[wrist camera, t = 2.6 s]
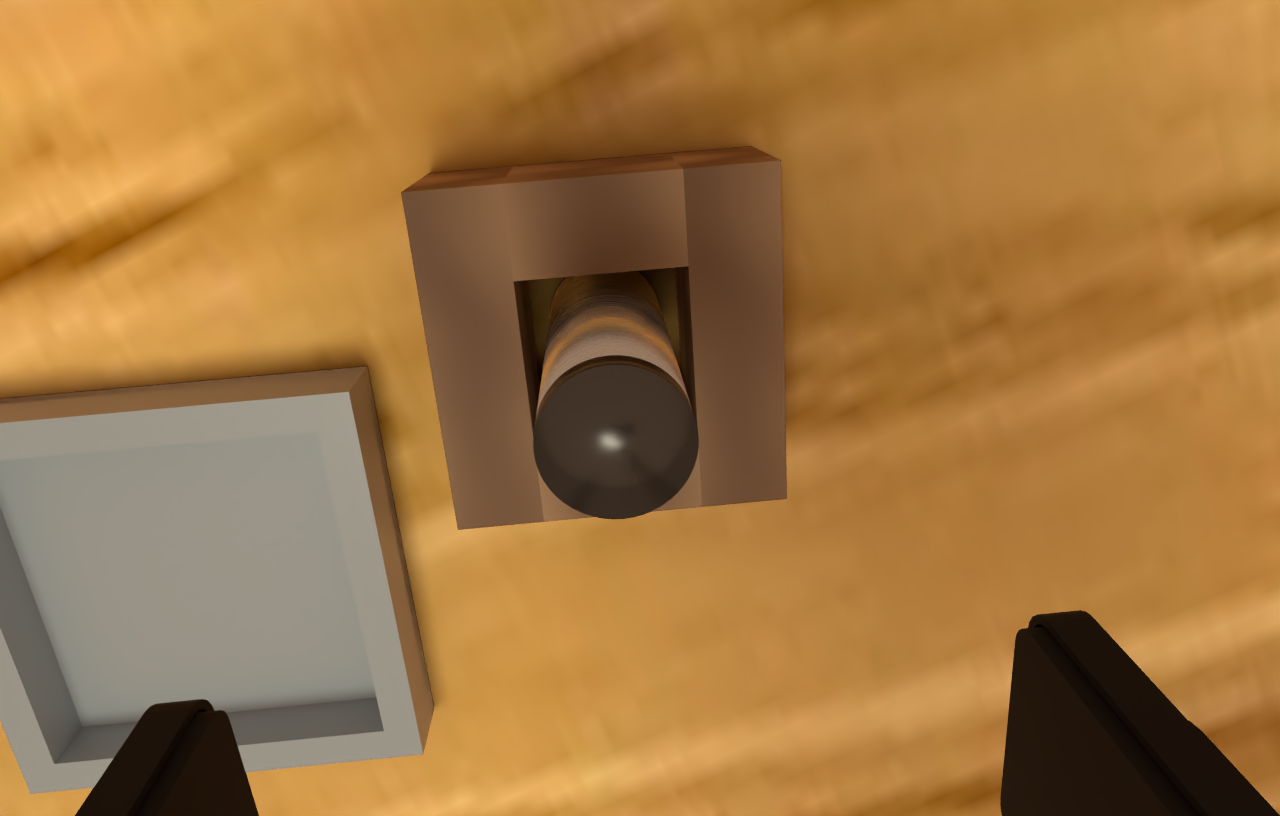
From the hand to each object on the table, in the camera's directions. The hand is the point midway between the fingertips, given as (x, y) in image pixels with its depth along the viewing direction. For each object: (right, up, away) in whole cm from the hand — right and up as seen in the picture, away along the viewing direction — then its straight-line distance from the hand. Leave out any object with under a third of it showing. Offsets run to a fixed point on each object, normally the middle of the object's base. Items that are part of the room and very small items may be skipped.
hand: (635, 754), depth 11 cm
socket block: (-1, +7, +19) cm, 20 cm away
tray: (-15, -2, +21) cm, 26 cm away
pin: (-1, +7, +19) cm, 20 cm away
